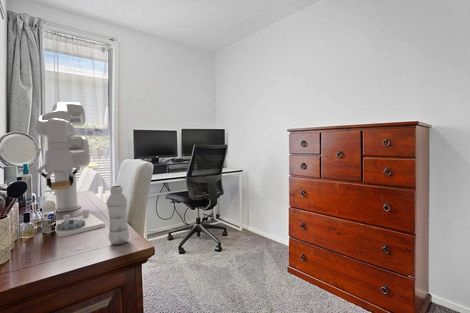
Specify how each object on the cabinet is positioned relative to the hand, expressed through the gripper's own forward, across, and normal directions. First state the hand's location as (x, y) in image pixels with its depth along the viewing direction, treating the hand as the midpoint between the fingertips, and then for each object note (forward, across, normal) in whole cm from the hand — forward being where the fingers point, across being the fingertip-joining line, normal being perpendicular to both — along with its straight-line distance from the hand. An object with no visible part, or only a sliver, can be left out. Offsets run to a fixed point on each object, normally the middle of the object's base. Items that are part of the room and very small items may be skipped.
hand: (60, 186), depth 116 cm
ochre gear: (+1, 0, 0) cm, 1 cm away
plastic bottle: (+18, -10, +45) cm, 49 cm away
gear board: (+16, -3, +12) cm, 21 cm away
